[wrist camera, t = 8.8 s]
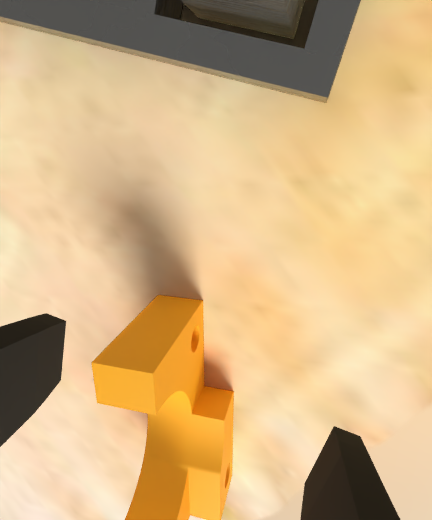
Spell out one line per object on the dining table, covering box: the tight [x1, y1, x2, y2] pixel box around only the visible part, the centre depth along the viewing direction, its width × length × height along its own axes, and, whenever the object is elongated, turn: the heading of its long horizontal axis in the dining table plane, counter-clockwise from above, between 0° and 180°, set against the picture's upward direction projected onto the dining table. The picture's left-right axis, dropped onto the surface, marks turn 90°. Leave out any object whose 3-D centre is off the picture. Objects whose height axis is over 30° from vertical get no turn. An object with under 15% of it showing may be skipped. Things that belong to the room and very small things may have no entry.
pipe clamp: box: [92, 295, 234, 520], centre depth 18 cm, size 12×4×6 cm, turn 1°
